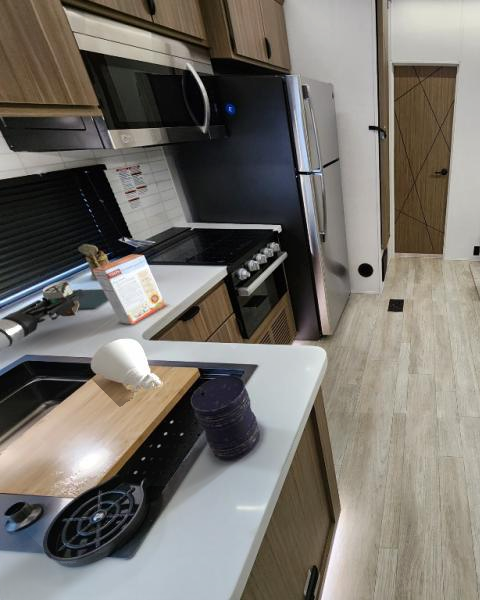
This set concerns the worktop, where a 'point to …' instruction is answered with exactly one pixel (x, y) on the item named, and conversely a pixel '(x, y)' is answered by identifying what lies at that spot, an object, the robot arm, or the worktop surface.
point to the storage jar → (226, 417)
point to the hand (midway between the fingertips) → (74, 292)
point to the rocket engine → (124, 364)
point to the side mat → (91, 299)
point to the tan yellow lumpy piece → (93, 257)
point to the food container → (60, 295)
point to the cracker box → (130, 288)
